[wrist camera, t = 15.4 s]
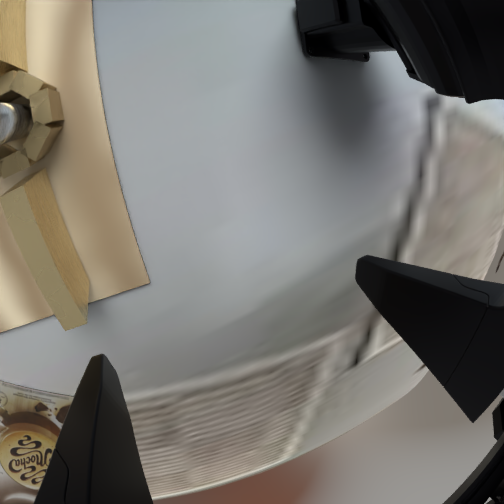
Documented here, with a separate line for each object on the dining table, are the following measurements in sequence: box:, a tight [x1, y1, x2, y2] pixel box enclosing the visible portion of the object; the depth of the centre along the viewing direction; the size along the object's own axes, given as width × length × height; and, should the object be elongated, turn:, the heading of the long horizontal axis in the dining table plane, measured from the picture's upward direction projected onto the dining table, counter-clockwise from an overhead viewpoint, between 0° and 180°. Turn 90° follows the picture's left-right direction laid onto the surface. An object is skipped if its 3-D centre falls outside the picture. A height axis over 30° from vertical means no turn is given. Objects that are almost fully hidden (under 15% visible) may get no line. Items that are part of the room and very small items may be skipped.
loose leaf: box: [0, 167, 90, 331], centre depth 13 cm, size 2×8×4 cm, turn 8°
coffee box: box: [0, 381, 74, 504], centre depth 14 cm, size 9×6×16 cm
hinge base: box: [0, 0, 64, 179], centre depth 8 cm, size 5×13×5 cm, turn 7°
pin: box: [0, 103, 34, 145], centre depth 8 cm, size 3×3×8 cm
